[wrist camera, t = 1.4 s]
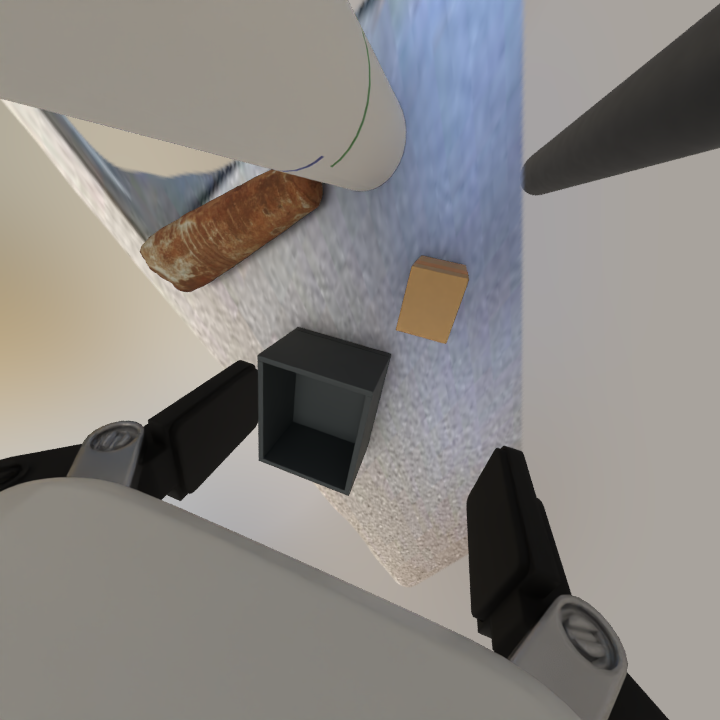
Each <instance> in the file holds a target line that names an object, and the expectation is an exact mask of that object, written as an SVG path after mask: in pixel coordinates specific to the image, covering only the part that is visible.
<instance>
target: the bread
mask: <svg viewBox="0 0 720 720" xmlns="http://www.w3.org/2000/svg"><path fill="white" fill-rule="evenodd" d="M322 195H323V188H322V183H321V182H319V181H315V180H311V179H307V178H304V177H300V176H296V175H292V174H288V173H284V172H280V171H276V170H273V169H271V170H269V171H267V172H265V173H263V174H261V175H259V176H257V177H254V178H253V179H251V180H249V181H247V182H246V183H244V184H242V185H240V186H237V187H236V188H234V189H232V190H230V191H228V192H227V193H225V194H223V195H221V196H219V197H217V198H215V199H213V200H211V201H209V202H208V203H206V204H204V205H202V206H201V207H199V208H197V209H195V210H193V211H190V212H188V213H187V214H185V215H183V216H182V217H180V218H179V219H178V220H176V221H174V222H172V223H171V224H169V225H167V226H165V227H163V228H162V229H160V230H159V231H157V232H156V233H155V234H153V235H151V236H150V237H149V238H148V240H147V241H146V242H145V243H144V244H143V245H142V246H141V250H140V253H141V254H142V257H143V258H144V259H145V260H146V263H147V264H148V266H149V268H150V269H151V270H152V271H153V272H155V273H157V274H158V275H159V276H160V277H162V278H163V279H165V280H167V281H169V282H171V283H172V284H173V285H174V287H175V288H176V289H178V290H180V291H183V292H191V291H193V290H195V289H198V288H200V287H202V286H204V285H206V284H208V283H209V282H211V281H213V280H214V279H215V278H217V277H218V276H220V275H221V274H223V273H225V272H226V271H228V270H229V269H231V268H232V267H234V266H235V265H236V264H238V263H239V262H241V261H242V260H244V259H245V258H247V257H248V256H249V255H251V254H252V253H253V252H255V251H256V250H258V249H259V248H261V247H262V246H264V245H265V244H266V243H268V242H269V241H271V240H272V239H274V238H275V237H277V236H278V235H280V234H281V233H282V232H284V231H285V230H287V229H288V228H289V227H291V226H292V225H293V224H294V223H296V222H297V221H299V220H300V219H301V218H303V217H304V216H305V215H307V214H308V213H310V212H311V211H313V210H314V209H316V208H317V207H318V206H319V205H320V202H321V199H322Z"/></svg>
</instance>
